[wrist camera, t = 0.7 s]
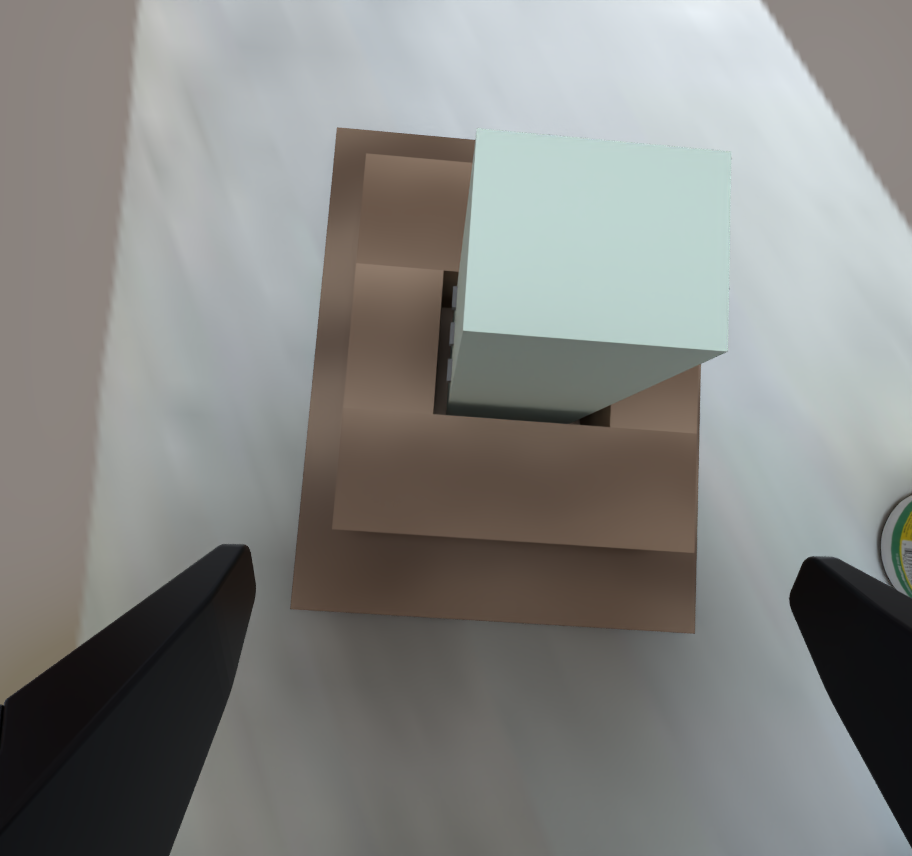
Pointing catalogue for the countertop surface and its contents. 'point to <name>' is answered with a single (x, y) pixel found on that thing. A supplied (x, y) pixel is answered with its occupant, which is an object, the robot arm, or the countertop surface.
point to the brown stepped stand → (470, 440)
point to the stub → (585, 273)
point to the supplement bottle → (899, 547)
